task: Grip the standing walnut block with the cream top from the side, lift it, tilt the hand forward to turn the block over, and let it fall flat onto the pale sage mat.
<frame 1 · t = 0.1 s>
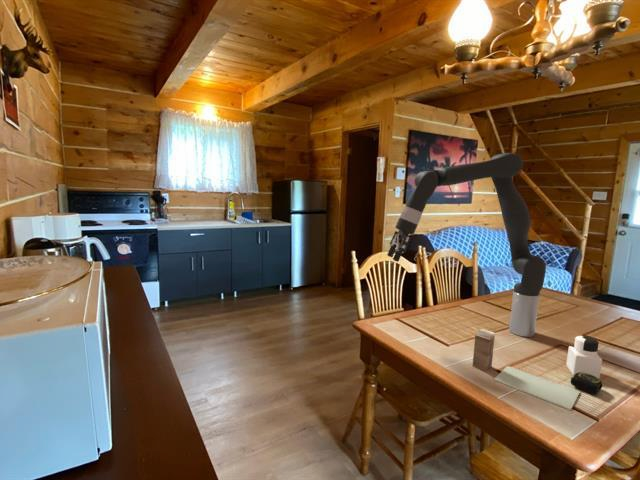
hand: (392, 258, 137), 31 cm above the table, fingers open, 8 cm apart
tape measure: (586, 390, 105), on the table
medicine bottle: (581, 373, 115), on the table
sage mat: (535, 386, 106), on the table
walnut block: (482, 366, 117), on the table
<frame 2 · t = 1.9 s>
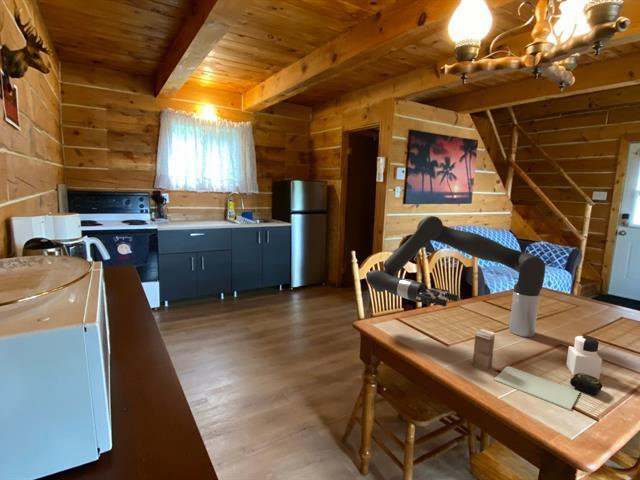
hand: (452, 300, 123), 20 cm above the table, fingers open, 8 cm apart
nothing on the table moved.
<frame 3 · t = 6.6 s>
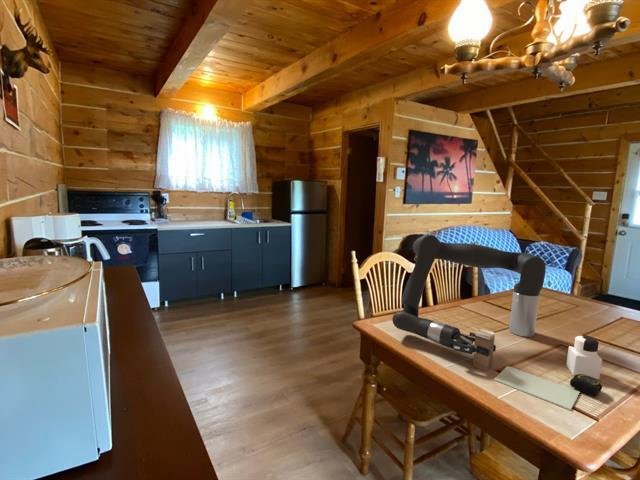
hand: (492, 350, 114), 7 cm above the table, fingers closed on walnut block, 4 cm apart
walnut block: (482, 366, 117), on the table, touching gripper
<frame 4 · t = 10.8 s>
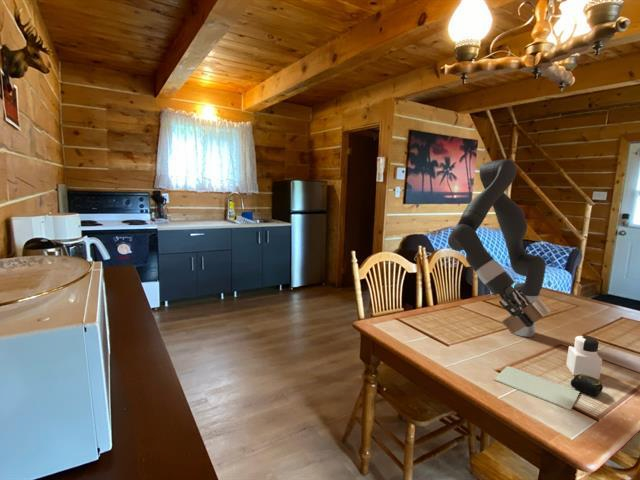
hand: (533, 323, 105), 20 cm above the table, fingers closed on walnut block, 4 cm apart
walnut block: (509, 325, 110), point 17 cm above the table, tilted 44°, touching gripper
when the fingers open (6 cm above the table, at t = 14.9 s): walnut block moves 2 cm and tips over, resting on sage mat.
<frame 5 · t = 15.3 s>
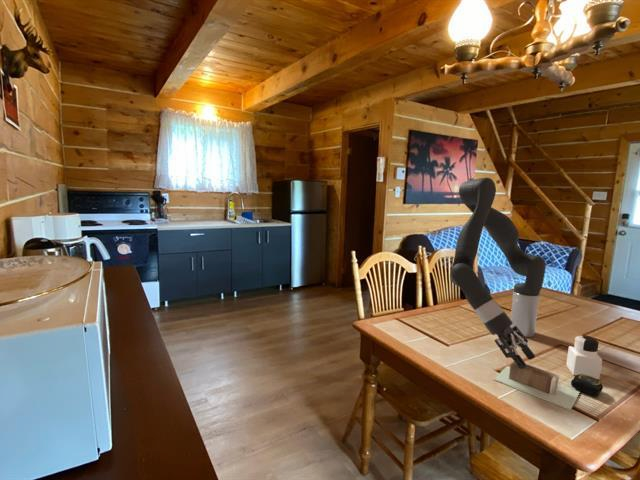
hand: (528, 362, 107), 7 cm above the table, fingers open, 8 cm apart
walnut block: (512, 369, 110), point 3 cm above the table, tilted 90°, touching sage mat
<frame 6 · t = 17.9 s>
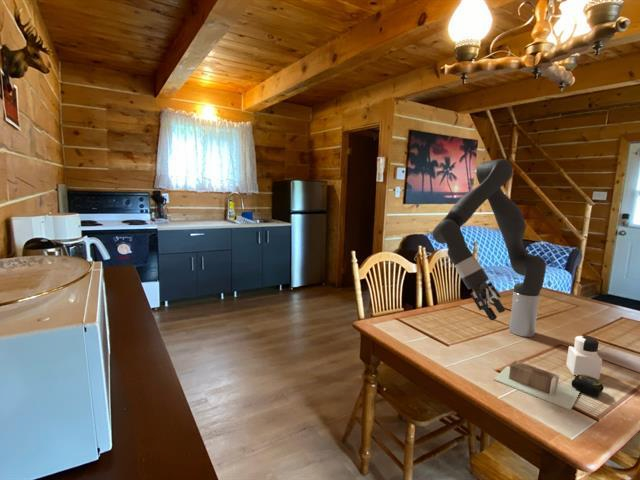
hand: (498, 315, 115), 18 cm above the table, fingers open, 8 cm apart
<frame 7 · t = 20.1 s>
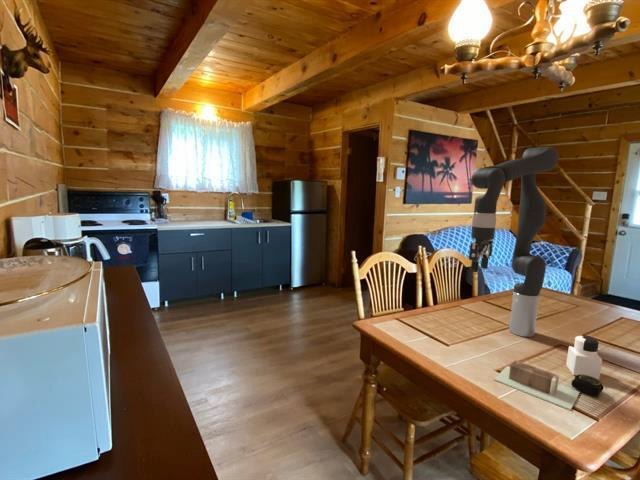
hand: (479, 270, 126), 30 cm above the table, fingers open, 8 cm apart
at the end: walnut block tilted 90°; walnut block inside the target area (6.4 cm from its centre), point 2.6 cm above the table; the gripper is holding nothing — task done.
